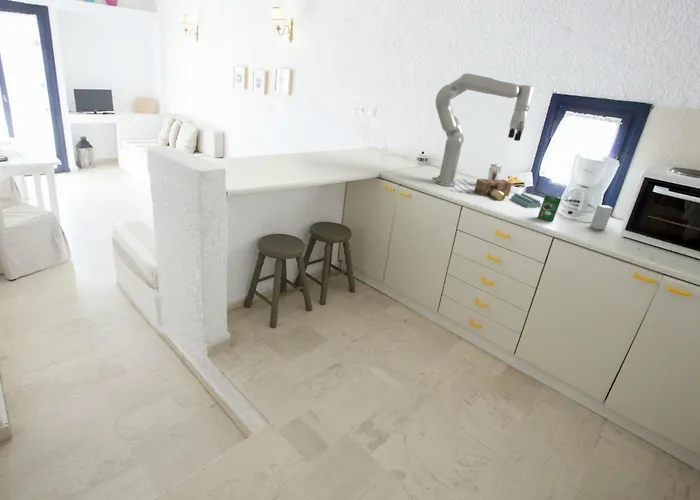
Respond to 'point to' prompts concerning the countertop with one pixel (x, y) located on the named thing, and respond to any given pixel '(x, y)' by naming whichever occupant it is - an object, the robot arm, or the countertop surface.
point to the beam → (499, 185)
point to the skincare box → (601, 217)
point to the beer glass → (494, 171)
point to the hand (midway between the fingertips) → (513, 139)
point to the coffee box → (549, 207)
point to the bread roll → (496, 194)
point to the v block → (526, 200)
